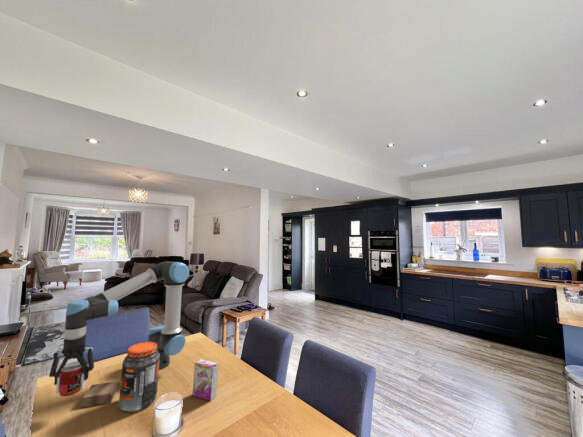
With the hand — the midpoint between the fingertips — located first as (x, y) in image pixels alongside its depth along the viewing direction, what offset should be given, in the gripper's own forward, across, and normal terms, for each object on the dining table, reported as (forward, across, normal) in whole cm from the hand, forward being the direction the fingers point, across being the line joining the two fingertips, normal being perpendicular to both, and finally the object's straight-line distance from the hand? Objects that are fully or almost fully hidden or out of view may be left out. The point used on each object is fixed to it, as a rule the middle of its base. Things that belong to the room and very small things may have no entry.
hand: (71, 389), depth 109 cm
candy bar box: (+12, -56, +4) cm, 58 cm away
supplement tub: (+12, -26, 0) cm, 29 cm away
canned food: (+1, 0, 0) cm, 1 cm away
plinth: (+11, -8, -10) cm, 18 cm away
